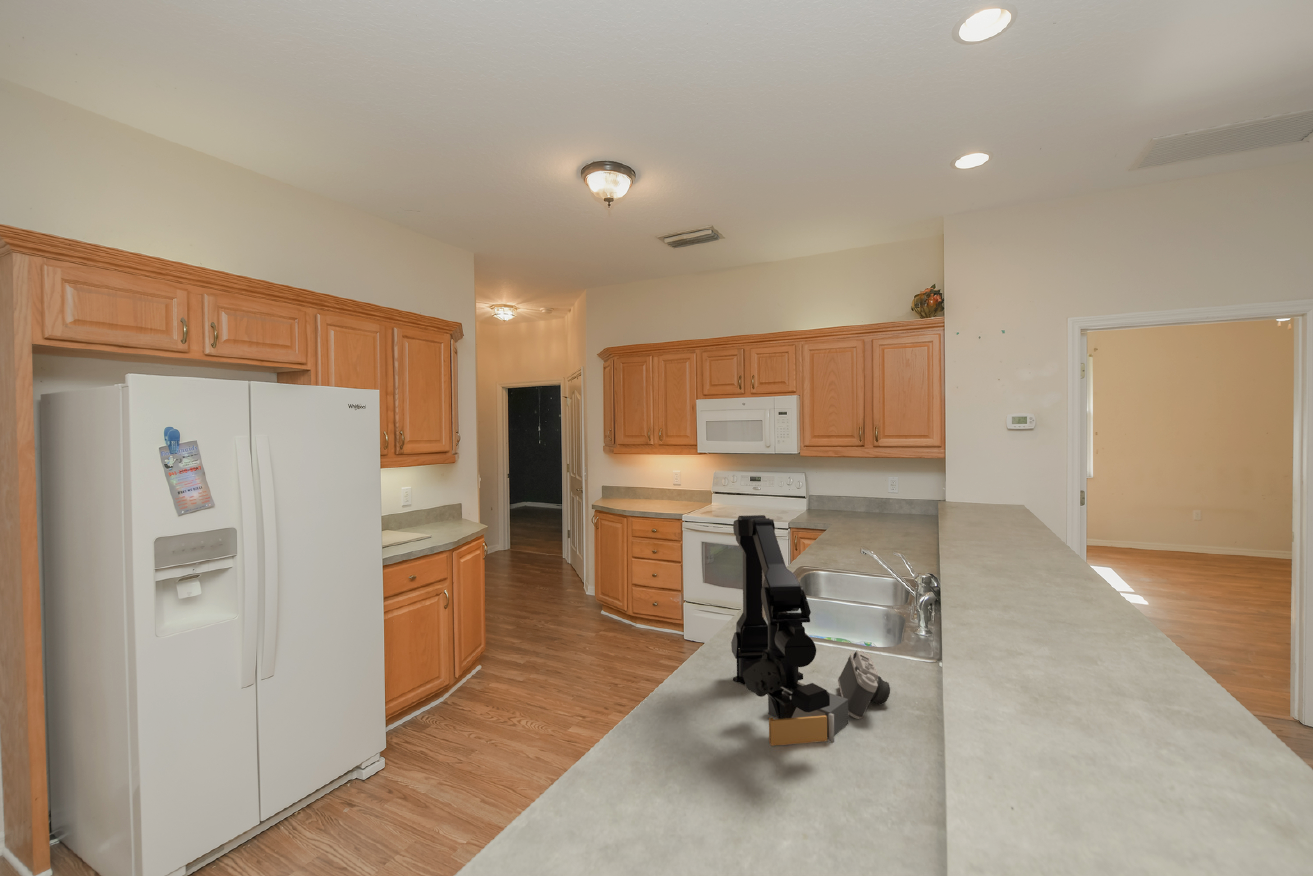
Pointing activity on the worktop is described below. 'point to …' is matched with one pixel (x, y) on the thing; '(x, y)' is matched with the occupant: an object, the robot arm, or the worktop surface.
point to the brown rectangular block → (797, 730)
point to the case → (834, 713)
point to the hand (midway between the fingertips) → (783, 727)
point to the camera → (861, 684)
